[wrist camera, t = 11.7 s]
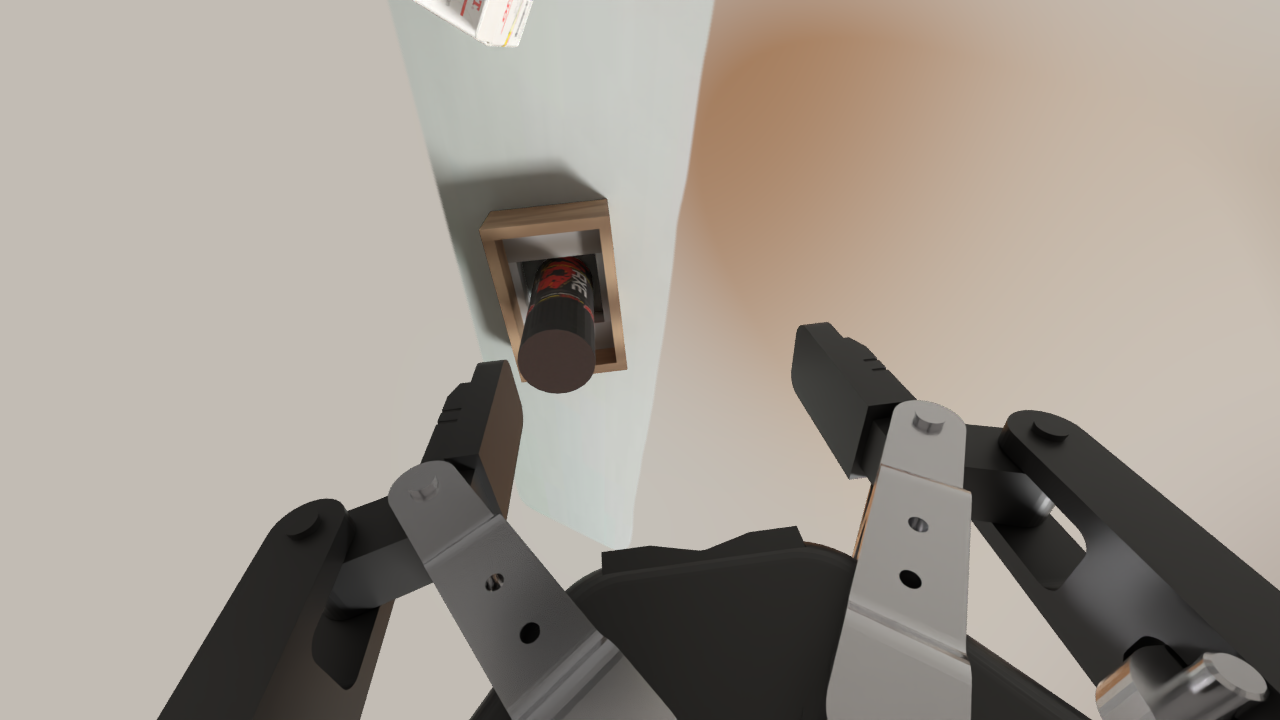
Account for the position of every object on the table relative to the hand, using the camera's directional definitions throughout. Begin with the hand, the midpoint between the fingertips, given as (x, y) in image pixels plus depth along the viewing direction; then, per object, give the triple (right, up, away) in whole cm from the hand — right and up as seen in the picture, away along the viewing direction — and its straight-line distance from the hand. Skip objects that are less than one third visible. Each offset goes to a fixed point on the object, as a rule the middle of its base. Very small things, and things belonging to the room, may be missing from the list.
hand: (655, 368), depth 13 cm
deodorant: (-8, +8, +35) cm, 37 cm away
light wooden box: (-8, +8, +35) cm, 37 cm away
